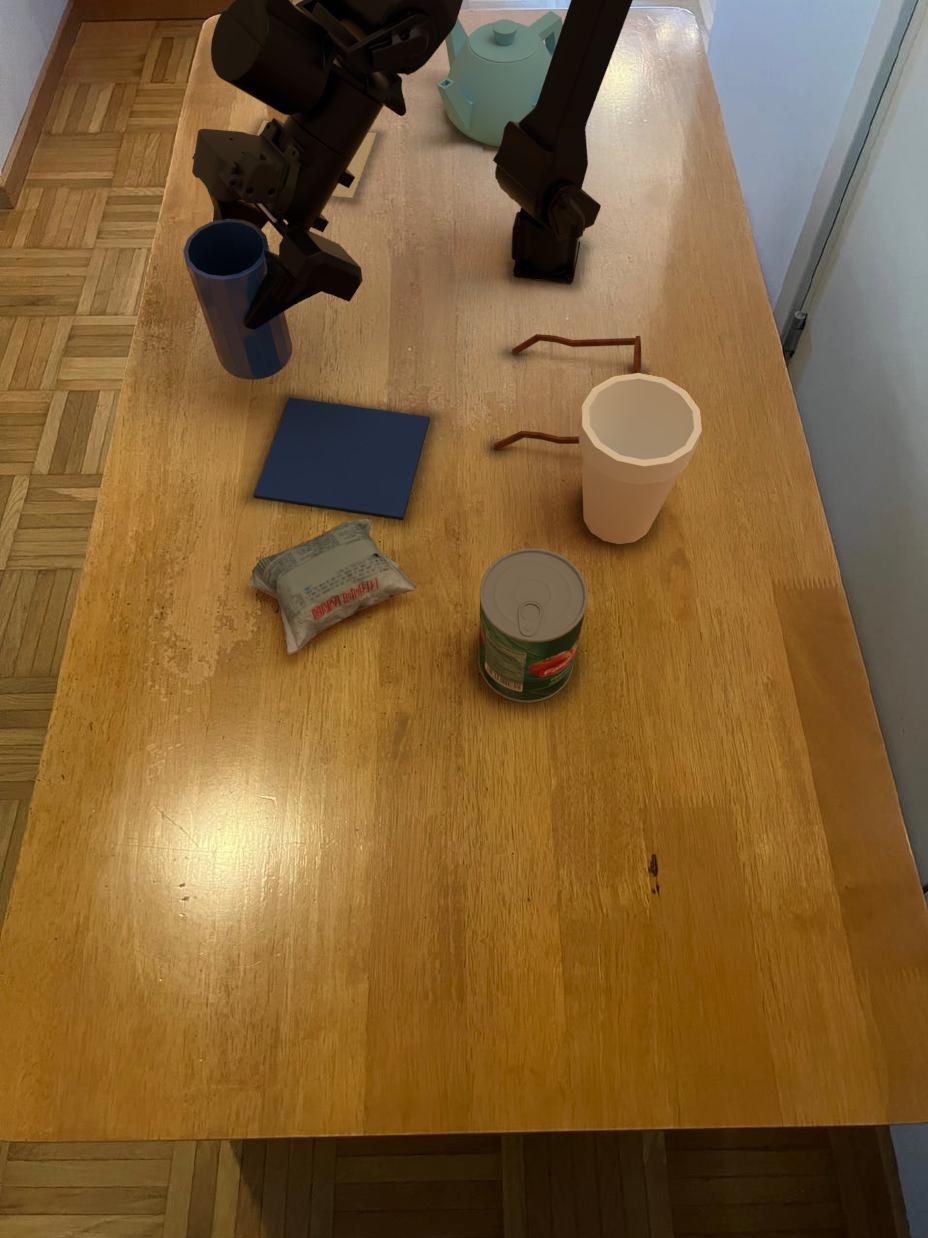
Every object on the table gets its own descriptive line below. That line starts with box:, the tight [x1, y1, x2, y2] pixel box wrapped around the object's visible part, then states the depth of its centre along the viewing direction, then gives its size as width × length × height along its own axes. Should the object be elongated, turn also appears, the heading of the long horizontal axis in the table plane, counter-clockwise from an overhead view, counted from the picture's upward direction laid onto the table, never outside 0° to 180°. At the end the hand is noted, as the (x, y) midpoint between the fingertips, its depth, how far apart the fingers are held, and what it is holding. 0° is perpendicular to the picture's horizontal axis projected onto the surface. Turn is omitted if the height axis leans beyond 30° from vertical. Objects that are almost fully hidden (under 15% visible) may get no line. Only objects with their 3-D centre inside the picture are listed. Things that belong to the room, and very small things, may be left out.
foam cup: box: [578, 372, 703, 545], centre depth 78 cm, size 10×9×13 cm
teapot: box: [436, 10, 564, 148], centre depth 108 cm, size 15×15×11 cm
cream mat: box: [256, 120, 377, 199], centre depth 109 cm, size 14×12×1 cm
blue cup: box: [182, 219, 293, 381], centre depth 81 cm, size 7×7×12 cm
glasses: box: [493, 333, 642, 451], centre depth 88 cm, size 13×13×5 cm
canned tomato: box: [477, 547, 589, 704], centre depth 72 cm, size 8×8×11 cm
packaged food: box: [249, 518, 417, 656], centre depth 78 cm, size 9×12×5 cm
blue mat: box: [253, 396, 431, 520], centre depth 87 cm, size 14×12×1 cm
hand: (228, 302), depth 80 cm, fingers closed on blue cup, 7 cm apart
